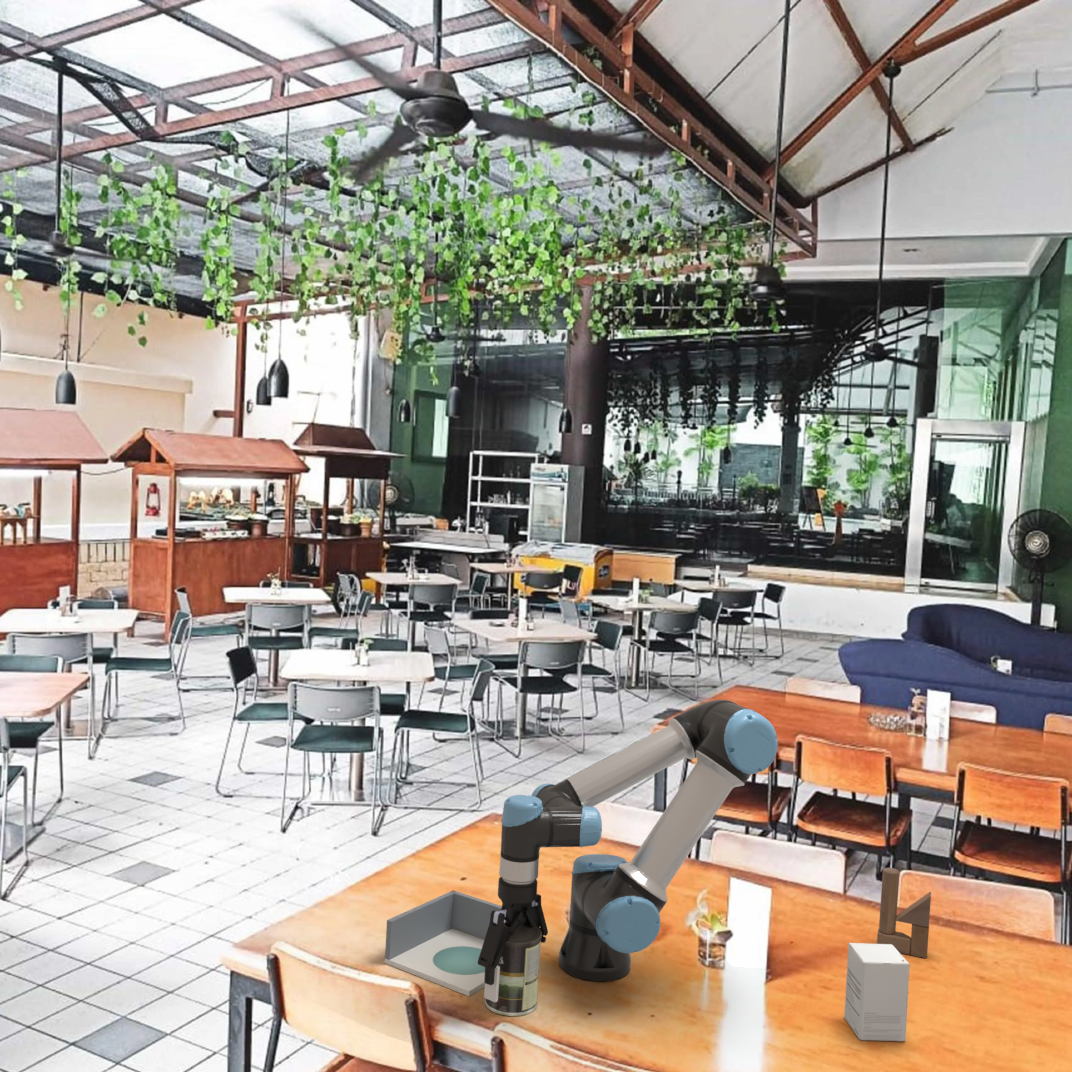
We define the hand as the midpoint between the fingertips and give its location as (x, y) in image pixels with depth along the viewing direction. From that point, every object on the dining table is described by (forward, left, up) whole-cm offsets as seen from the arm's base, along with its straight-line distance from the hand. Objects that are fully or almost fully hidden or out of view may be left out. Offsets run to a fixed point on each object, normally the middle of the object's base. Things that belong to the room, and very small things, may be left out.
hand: (511, 986), depth 196 cm
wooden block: (-54, -78, -4) cm, 95 cm away
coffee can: (0, 0, -4) cm, 4 cm away
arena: (+19, -8, -3) cm, 21 cm away
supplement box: (-59, -37, -4) cm, 70 cm away
